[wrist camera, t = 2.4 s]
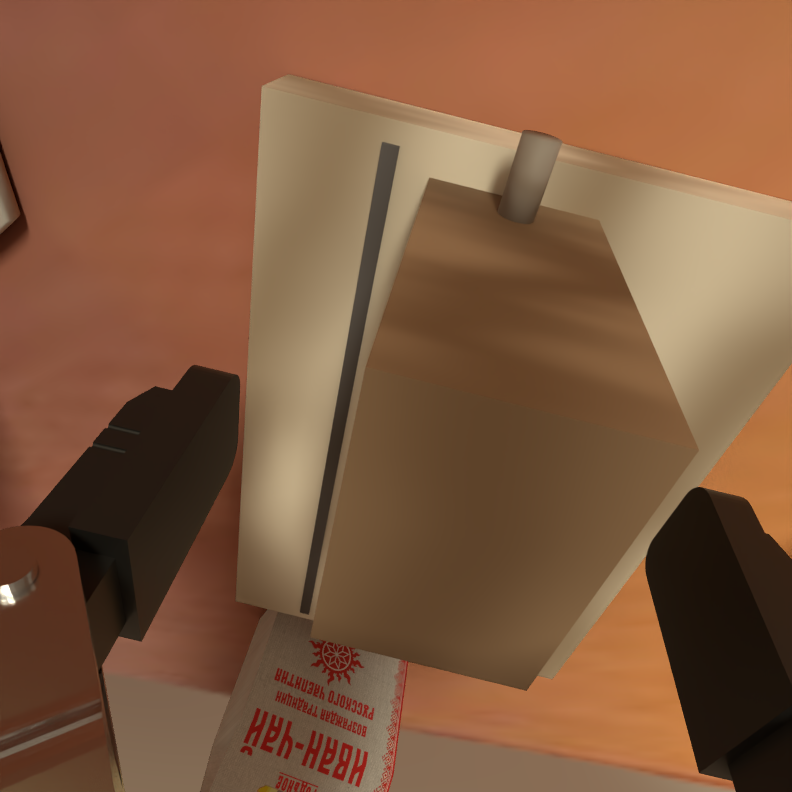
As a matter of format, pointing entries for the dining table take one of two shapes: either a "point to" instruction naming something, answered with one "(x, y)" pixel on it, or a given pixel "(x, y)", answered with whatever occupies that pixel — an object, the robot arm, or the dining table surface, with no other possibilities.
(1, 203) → the wineglass
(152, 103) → the dining table surface
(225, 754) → the tea bag
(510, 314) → the block
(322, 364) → the board
